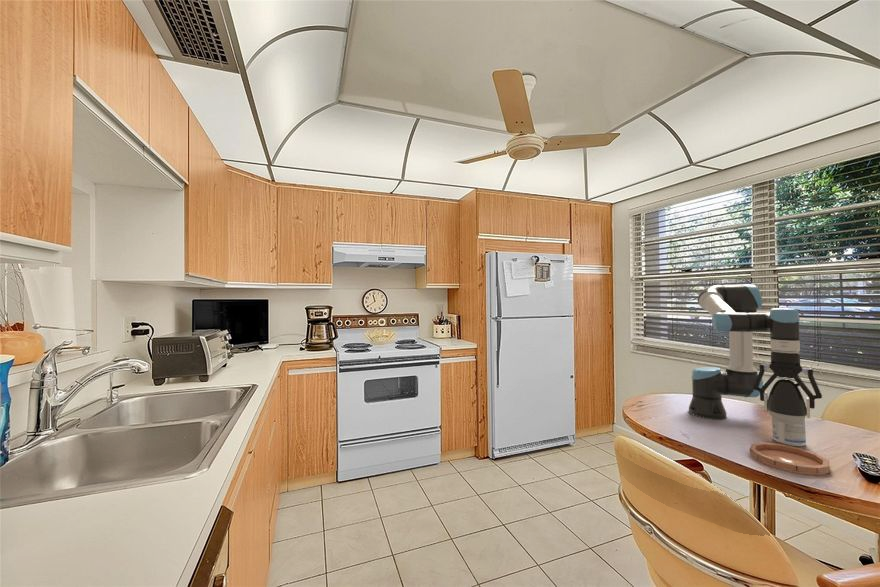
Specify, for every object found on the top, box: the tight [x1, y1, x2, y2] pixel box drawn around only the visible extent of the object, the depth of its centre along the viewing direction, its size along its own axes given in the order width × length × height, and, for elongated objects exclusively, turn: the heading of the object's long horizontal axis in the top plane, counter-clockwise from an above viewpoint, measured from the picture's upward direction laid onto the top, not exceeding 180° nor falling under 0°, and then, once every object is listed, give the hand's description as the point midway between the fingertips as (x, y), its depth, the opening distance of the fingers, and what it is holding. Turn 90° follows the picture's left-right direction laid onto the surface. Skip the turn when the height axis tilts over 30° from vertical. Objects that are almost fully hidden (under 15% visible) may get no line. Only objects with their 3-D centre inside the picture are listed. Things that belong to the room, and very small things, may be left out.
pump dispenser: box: [767, 378, 807, 424], centre depth 126 cm, size 10×10×15 cm
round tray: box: [749, 442, 831, 476], centre depth 126 cm, size 20×20×2 cm
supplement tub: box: [771, 416, 807, 447], centre depth 142 cm, size 10×10×15 cm
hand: (786, 413), depth 126 cm, fingers closed on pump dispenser, 10 cm apart
